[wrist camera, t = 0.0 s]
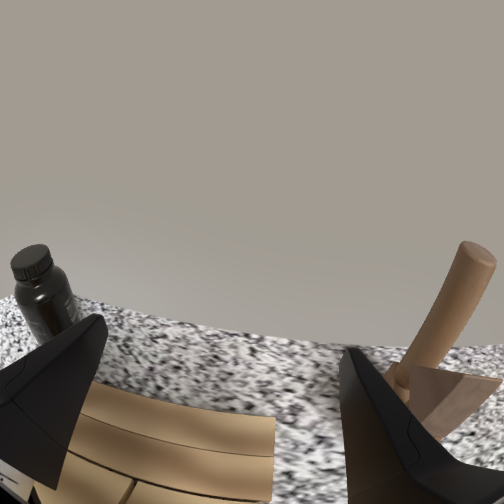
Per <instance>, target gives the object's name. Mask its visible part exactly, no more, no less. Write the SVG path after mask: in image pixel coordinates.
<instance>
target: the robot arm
mask: <svg viewBox="0 0 504 504" xmlns="http://www.w3.org/2000/svg"><path fill="white" fill-rule="evenodd" d="M107 337H108V328H107V325H106V322H105V319H104V317H103V316H102V315H100V314H96V313H93V314H91V315H89V316H88V317H86V318H84V319H83V320H81V321H79V322H78V323H76V324H75V325H73V326H71V327H70V328H68V329H66V330H65V331H63V332H62V333H60V334H58V335H57V336H55V337H54V338H52V339H50V340H49V341H47V342H46V343H44V344H42V345H41V346H39V347H38V348H36V349H35V350H33V351H31V352H30V353H28V354H27V355H25V356H24V357H22V358H21V359H19V360H17V361H16V362H14V363H12V364H11V365H9V366H7V367H5V368H4V369H2V370H0V504H41V501H40V499H39V497H38V494H37V492H36V489H35V487H34V486H33V485H34V482H35V481H37V482H39V483H41V484H42V485H44V486H46V487H48V488H50V489H52V490H54V491H56V490H57V486H58V483H59V479H60V475H61V471H62V468H63V464H64V461H65V457H66V454H67V450H68V447H69V444H70V441H71V438H72V435H73V432H74V429H75V426H76V423H77V420H78V417H79V415H80V412H81V409H82V406H83V404H84V401H85V399H86V396H87V393H88V391H89V388H90V386H91V383H92V381H93V378H94V376H95V374H96V371H97V369H98V366H99V363H100V359H101V356H102V353H103V350H104V347H105V343H106V340H107ZM339 382H340V411H341V419H342V428H343V438H344V449H345V461H346V474H347V491H348V504H504V471H499V470H494V469H488V468H483V467H478V466H474V465H469V464H465V463H463V462H460V461H459V460H457V459H456V458H454V457H453V456H452V455H451V454H450V453H449V452H448V451H447V450H446V449H445V448H444V447H443V446H442V445H441V444H440V443H439V442H438V441H437V440H436V439H435V438H434V437H433V436H432V435H431V434H430V433H429V432H428V431H427V430H426V429H425V427H424V426H423V425H422V424H421V423H420V422H419V420H418V419H417V418H416V417H415V415H414V414H412V412H411V411H410V409H409V408H408V407H407V406H406V405H405V403H404V402H403V401H402V400H401V398H400V397H399V396H398V395H397V394H396V392H395V391H394V390H393V389H392V387H391V386H390V385H389V384H388V383H387V381H386V380H385V379H384V378H383V377H382V375H381V374H380V373H379V372H378V371H377V369H376V368H375V367H374V366H373V365H372V363H371V362H370V361H369V360H368V359H367V357H366V356H365V355H364V354H363V353H362V351H361V350H360V349H359V348H357V347H348V348H347V349H346V350H345V352H344V354H343V357H342V359H341V361H340V364H339Z"/></svg>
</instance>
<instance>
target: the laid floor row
mask: <svg viewBox="0 0 504 504" xmlns="http://www.w3.org/2000/svg"><path fill="white" fill-rule="evenodd" d="M274 443H275V417H262V416H250V415H241V414H232V413H224V412H217V411H211V410H205V409H199V408H193V407H188V406H183V405H178V404H173V403H168V402H164V401H160V400H156V399H152V398H148V397H144V396H140V395H136V394H133V393H129V392H126V391H122V390H119V389H116V388H113V387H110V386H107V385H104V384H101V383H98V382H95V381H92V383H91V386H90V388H89V391H88V393H87V396H86V399H85V401H84V404H83V406H82V409H81V412H80V415H79V417H78V420H77V423H76V426H75V429H74V432H73V435H72V438H71V441H70V444H69V447H68V450H67V451H69V452H71V453H73V454H75V455H77V456H79V457H81V458H83V459H86V460H88V461H90V462H92V463H94V464H97V465H99V466H102V467H104V468H106V469H109V470H112V471H114V472H117V473H119V474H122V475H125V476H128V477H131V478H134V479H137V480H140V481H143V482H147V483H150V484H153V485H157V486H161V487H164V488H168V489H173V490H177V491H181V492H186V493H191V494H196V495H201V496H207V497H214V498H221V499H229V500H238V501H250V502H270V501H271V500H272V483H273V465H274Z"/></svg>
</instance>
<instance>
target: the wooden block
mask: <svg viewBox="0 0 504 504" xmlns="http://www.w3.org/2000/svg"><path fill="white" fill-rule="evenodd" d="M496 263H497V261H496V259H495V257H494V256H493V255H492V254H491V253H490V252H489V251H488V250H487V249H485V248H484V247H482V246H480V245H478V244H476V243H473V242H469V241H463V242H462V243H461V244H460V246H459V248H458V251H457V253H456V256H455V259H454V261H453V263H452V266H451V268H450V270H449V273H448V275H447V277H446V279H445V281H444V284H443V286H442V288H441V291H440V292H439V294H438V296H437V298H436V300H435V302H434V304H433V306H432V308H431V310H430V312H429V314H428V316H427V318H426V320H425V321H424V323H423V325H422V327H421V329H420V330H419V332H418V334H417V336H416V337H415V339H414V341H413V342H412V344H411V346H410V347H409V349H408V350H407V352H406V354H405V355H404V357H403V358H402V360H401V361H400V363H399V362H393V364H392V365H391V367H390V368H389V370H388V371H387V373H386V374H385V376H384V377H383V378H384V379H385V380H386V381H387V383H388V384H389V385H390V386H391V387H392V389H393V390H394V391H395V392H396V394H397V395H398V396H399V397H400V398H401V400H402V401H403V402H404V403H405V405H406V406H407V407H408V408H409V409H410V411H411V412H412V414H414V415H415V417H416V418H417V419H418V420H419V422H420V423H421V424H422V425H423V426H424V427H425V429H426V430H427V431H428V432H429V433H430V434H431V435H432V436H433V437H434V438H435V439H436V440H437V441H438V442H439V441H440V440H441V439H442V437H446V436H447V435H448V434H449V433H451V432H452V431H453V430H454V429H455V428H456V427H458V426H459V425H460V424H461V423H462V422H463V421H464V420H466V419H467V418H468V417H469V416H470V415H471V414H472V413H473V412H474V411H475V410H476V409H477V408H478V407H479V406H480V405H481V404H482V403H483V402H484V401H485V400H486V399H487V398H488V397H489V396H490V395H491V394H492V393H493V392H494V391H495V390H496V389H497V388H498V387H499V386H500V384H501V383H502V382H503V380H502V379H498V378H490V377H483V376H477V375H470V374H464V373H458V372H452V371H446V370H440V369H436V368H437V367H438V365H439V364H440V363H441V361H442V360H443V358H444V357H445V356H446V354H447V353H448V351H449V350H450V349H451V347H452V346H453V344H454V343H455V341H456V340H457V338H458V336H459V335H460V333H461V332H462V330H463V329H464V327H465V325H466V324H467V322H468V320H469V319H470V317H471V315H472V313H473V312H474V310H475V308H476V306H477V305H478V303H479V301H480V299H481V297H482V295H483V293H484V291H485V289H486V287H487V285H488V283H489V281H490V279H491V277H492V275H493V273H494V270H495V268H496Z"/></svg>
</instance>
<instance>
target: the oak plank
mask: <svg viewBox="0 0 504 504" xmlns="http://www.w3.org/2000/svg"><path fill="white" fill-rule="evenodd" d="M33 486H34V487H35V489H36V492H37V494H38V497H39V499H40V501H41V504H126V503H127V501H128V499H129V497H130V495H131V494H132V492H133V490H134V483H133V479H131V478H128V477H125V476H122V475H119V474H117V473H114V472H111V471H109V470H106V469H104V468H101V467H99V466H97V465H94V464H92V463H90V462H88V461H85V460H83V459H81V458H79V457H77V456H75V455H73V454H71V453H69V452H67V454H66V457H65V461H64V464H63V468H62V471H61V475H60V479H59V483H58V486H57V490H56V491H54V490H52V489H50V488H48V487H46V486H44V485H42V484H41V483H39V482H37V481H35V482H34V485H33Z"/></svg>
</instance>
